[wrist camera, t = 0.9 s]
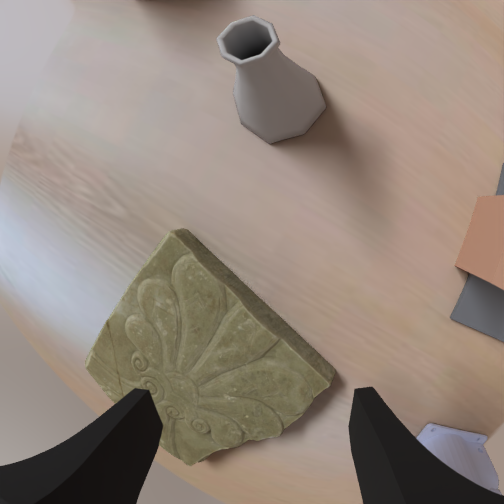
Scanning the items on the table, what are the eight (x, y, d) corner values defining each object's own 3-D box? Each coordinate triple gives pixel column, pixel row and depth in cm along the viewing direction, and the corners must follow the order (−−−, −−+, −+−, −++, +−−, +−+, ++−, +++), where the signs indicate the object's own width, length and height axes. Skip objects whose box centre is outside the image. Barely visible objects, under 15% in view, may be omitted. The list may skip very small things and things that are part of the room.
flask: (266, 159, 23) (224, 127, 14) (220, 94, 23) (162, 41, 14) (342, 111, 21) (348, 50, 12) (290, 49, 21) (265, -25, 12)
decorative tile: (95, 355, 31) (75, 367, 28) (185, 224, 26) (165, 226, 23) (210, 462, 29) (199, 482, 26) (343, 370, 24) (344, 392, 21)
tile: (491, 205, 19) (534, 204, 13) (468, 272, 20) (506, 291, 14) (477, 196, 19) (519, 193, 13) (454, 265, 20) (491, 283, 14)
